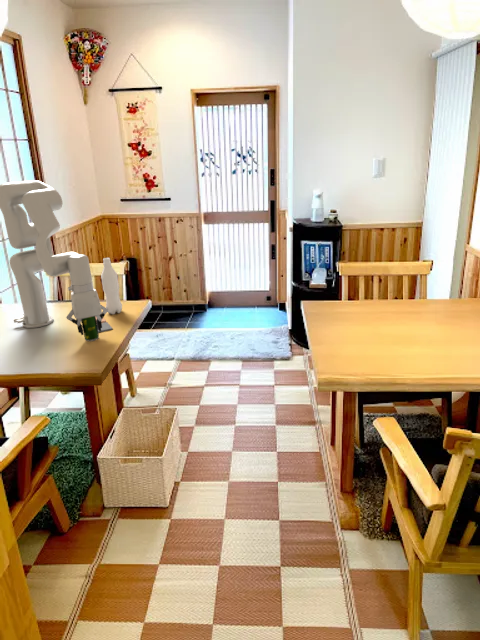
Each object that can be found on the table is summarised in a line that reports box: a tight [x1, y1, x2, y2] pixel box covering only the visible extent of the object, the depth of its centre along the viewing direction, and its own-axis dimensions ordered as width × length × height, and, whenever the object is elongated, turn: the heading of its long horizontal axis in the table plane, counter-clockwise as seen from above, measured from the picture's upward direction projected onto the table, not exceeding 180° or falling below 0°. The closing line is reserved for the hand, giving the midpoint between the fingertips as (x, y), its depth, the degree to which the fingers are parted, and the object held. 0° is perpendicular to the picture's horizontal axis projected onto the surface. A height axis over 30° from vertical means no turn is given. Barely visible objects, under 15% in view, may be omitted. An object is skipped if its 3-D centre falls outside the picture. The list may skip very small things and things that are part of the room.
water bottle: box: [100, 257, 123, 315], centre depth 207 cm, size 7×7×25 cm
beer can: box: [81, 316, 100, 342], centre depth 180 cm, size 5×5×12 cm
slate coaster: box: [98, 321, 114, 334], centre depth 192 cm, size 9×9×1 cm
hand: (90, 331), depth 181 cm, fingers open, 6 cm apart
